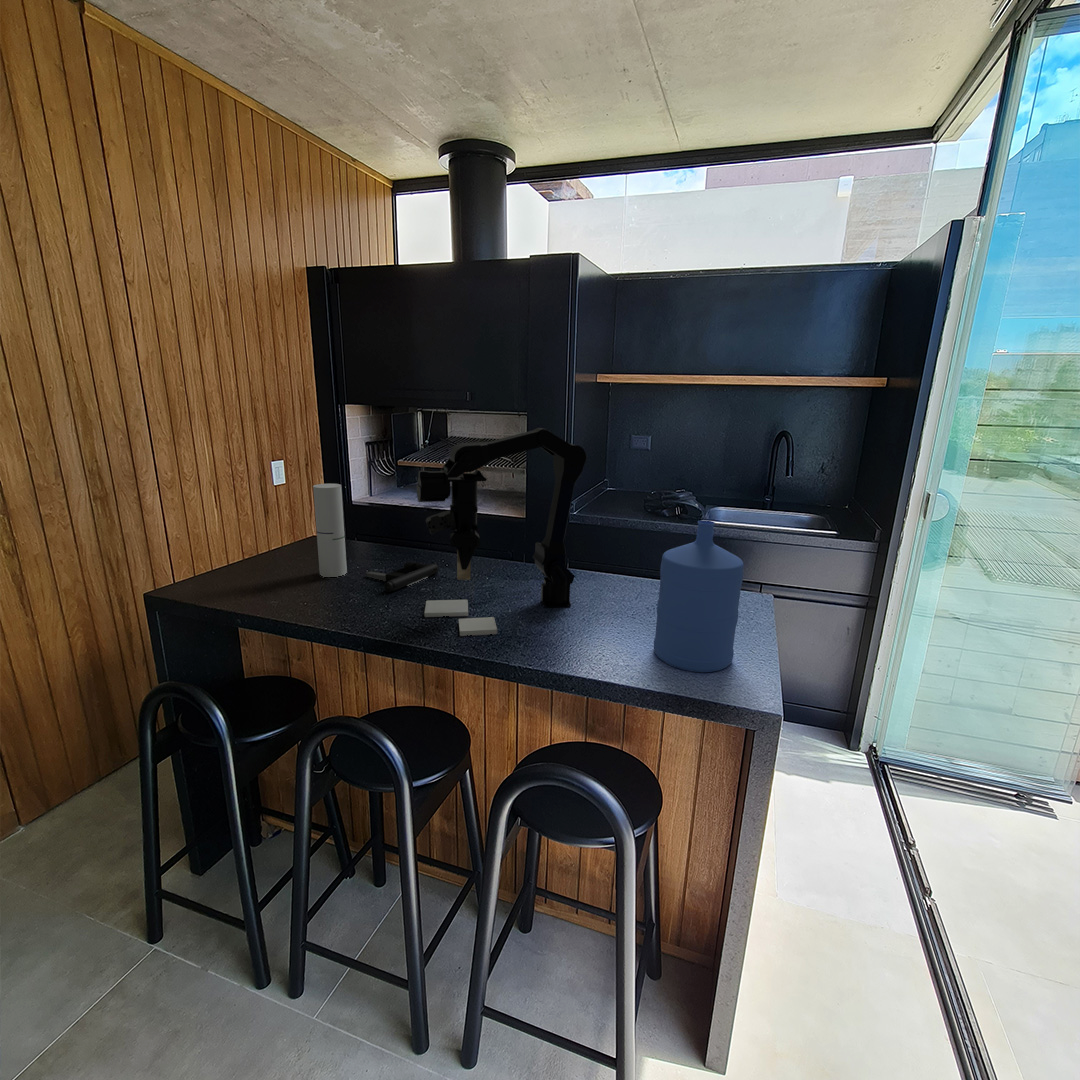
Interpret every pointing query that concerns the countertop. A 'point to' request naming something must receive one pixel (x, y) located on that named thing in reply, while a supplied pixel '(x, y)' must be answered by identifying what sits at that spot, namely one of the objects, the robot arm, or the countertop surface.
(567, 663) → the countertop surface
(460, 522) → the robot arm
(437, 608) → the grey flat plate
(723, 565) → the water jug
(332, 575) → the cylindrical container
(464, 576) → the stick
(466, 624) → the tile
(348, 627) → the countertop surface
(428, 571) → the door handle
